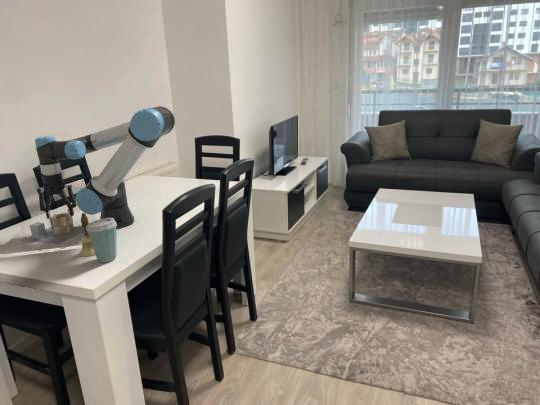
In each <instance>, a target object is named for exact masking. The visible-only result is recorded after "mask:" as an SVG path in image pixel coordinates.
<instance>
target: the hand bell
mask: <svg viewBox="0 0 540 405" xmlns="http://www.w3.org/2000/svg"><path fill="white" fill-rule="evenodd" d="M80 215H81V216H80V223H81V227H83V228H84V239H82V240H81V243H82V244H81V249H80V251H79V253H78V255H79V256H80V257H85V258H87V257H92V256H96V254H95V251H94V249H93V246H92V243H91V240H90V237H89V234H88V232H87V230H86V226H87V225H88V224H89V223H90V222H89V218H88V216H87V214H86V213H84V212H82V213H81V214H80Z"/></svg>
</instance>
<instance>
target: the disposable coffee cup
mask: <svg viewBox="0 0 540 405" xmlns="http://www.w3.org/2000/svg"><path fill="white" fill-rule="evenodd" d="M116 226H117V224H116V222H115V221H114V219H113V218H104V219H100V218H99V219H96V220H93V221H91V222H89V224H88V225H87V226H86V230H87V232H88V234H89V237H90V240H91V243H92V246H93V249H94V251H95V254H96V255H95V257H96V259H97V261H98V262H99V263H110V262H112V261H115V259H116V258H117V229H116Z"/></svg>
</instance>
